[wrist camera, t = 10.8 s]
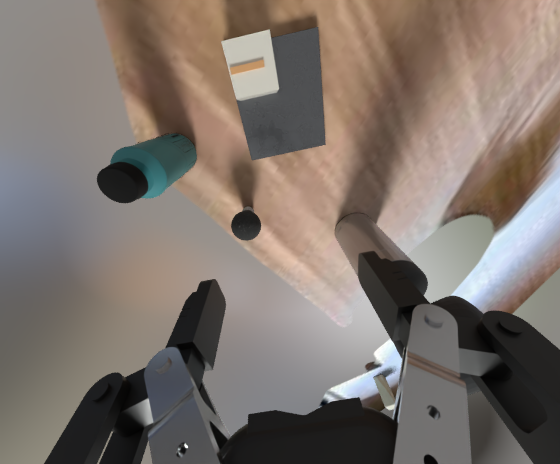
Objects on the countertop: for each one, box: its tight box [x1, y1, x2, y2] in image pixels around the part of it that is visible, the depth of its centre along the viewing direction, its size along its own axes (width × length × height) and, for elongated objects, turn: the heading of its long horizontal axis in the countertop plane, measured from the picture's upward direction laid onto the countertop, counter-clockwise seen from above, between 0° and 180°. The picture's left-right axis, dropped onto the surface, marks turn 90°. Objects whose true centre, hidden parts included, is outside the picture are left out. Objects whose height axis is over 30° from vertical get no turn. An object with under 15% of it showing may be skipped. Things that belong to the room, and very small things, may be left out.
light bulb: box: [231, 207, 261, 240], centre depth 40 cm, size 6×6×10 cm
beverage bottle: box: [97, 133, 197, 203], centre depth 29 cm, size 6×7×20 cm
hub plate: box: [236, 27, 326, 160], centre depth 32 cm, size 14×16×6 cm
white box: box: [221, 29, 279, 101], centre depth 28 cm, size 6×6×6 cm
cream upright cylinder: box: [373, 374, 395, 410], centre depth 89 cm, size 5×4×11 cm
